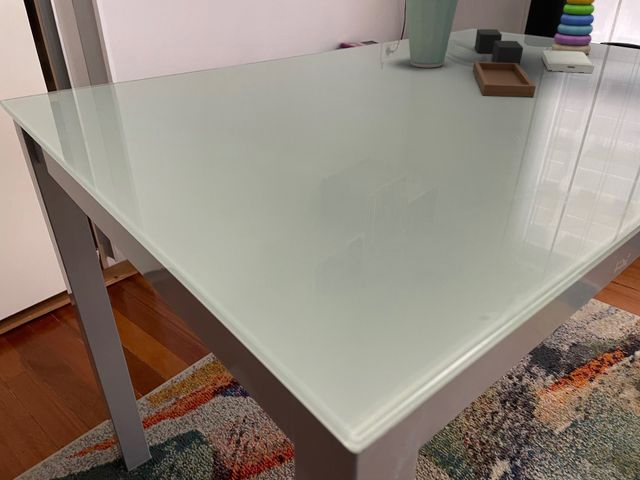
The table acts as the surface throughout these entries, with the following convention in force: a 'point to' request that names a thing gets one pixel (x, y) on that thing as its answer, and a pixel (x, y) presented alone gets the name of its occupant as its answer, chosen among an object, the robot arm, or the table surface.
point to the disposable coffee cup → (429, 30)
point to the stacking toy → (575, 27)
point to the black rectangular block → (507, 52)
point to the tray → (502, 79)
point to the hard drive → (567, 61)
